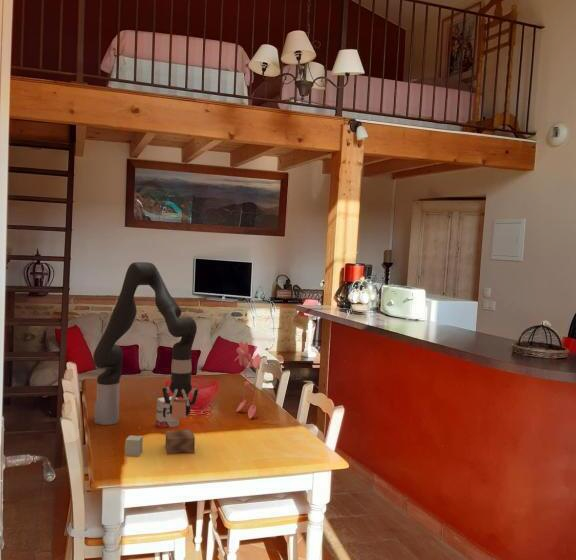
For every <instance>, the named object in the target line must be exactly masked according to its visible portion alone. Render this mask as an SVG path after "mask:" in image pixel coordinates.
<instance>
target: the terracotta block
mask: <svg viewBox="0 0 576 560" xmlns="http://www.w3.org/2000/svg"><path fill="white" fill-rule="evenodd" d="M186 406H187V405H186V402H185V400H184V398H178V399H175V400H174V401H173V402H172V418H179V419H186V418H187V416H186Z"/></svg>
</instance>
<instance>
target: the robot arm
mask: <svg viewBox="0 0 576 560" xmlns="http://www.w3.org/2000/svg"><path fill="white" fill-rule="evenodd" d="M139 286H149V287H150V288H151V289H152V290H153V291H154V294H155V295H154V299H155V300H154V301H155V306H156V308H157V310H158V311H159V313H160V314H161V315H162V317H163V318H164V321H165V324H166V326H167V327H166V328H167V330H168V333H169V334H170V335H171V336H172V337H175V338H180V340H179V341H177V342H175V343H174V344H173V345H172V356H171V357H172V359H171V372H170V373H171V374H170V385H169V386H164V387H163V388H162V394H163V398H164V400H165V403H168V404H169V405H170V413H171V415H172V402H173V401H174V400H175V399H176V398H181V399H184V400H185V402H186V405H187V406H186V417H187V416H189V415H190V414H191V406H193V405H195V403H196V402H197V399H198V396H199V392H200V388H198V387H197V388H195V387H193V386H192V370H193V365H192V347H193V344H194V342H195V338H196V335H197V323H196V321H195V320H194V319H193V318H192V317H181V315H182V310H181V308H180V306H179V304H178V303H177V302H176V301H175V299H174V298H173V297H172V296H171V293H170V292H169V290H168V288H167V286H166V284H165V282H164V279H163V278H162V276H161V274H160V271H159V270H158V268H157V267H156V265H155V264H154V263H151V262H148V261H147V262H142V261H134V262H132V263H130V265H129V266H128V267H127V270H126V272H125V276H124V280H123V283H122V286H121V287H122V288H121V289H120V292H119V295H118V299H117V301H116V303H115V306H114V307H113V310H112V313H111V315H110V318H109V320H108V324H107V326H106V328H105V331H104V333H103V335H102V336H101V338H100V340H99V341H98V343H97V345H96V347H95V350H94V352H93V364H94V366H95V367H97V368H99V369H101V368H103V369H105V368H106V369H105V370H104V371H103V372H102V373H101V374H99V375H97V377H96V400H95V401H94V419H93V420H94V424H98V425H101V426H106V425H107V426H111V425H115V424H118V423H119V418H120V416H119V413H120V412H119V411H120V381H121V380H120V379H121V376H122V372H123V371H122V369H123V358H124V356H123V351H122V348H121V347H120V345H119V344H116V343H117V342H118V341H119V340H120V339H121V338H122V337H123V336H124V335H125V334H126V333H127V332H128V331H129V330H130V329H131V327H132V326H133V324H134V321H135V319H136V317H137V314H138V310H137V305H136V301H135V293H136V291H137V288H138V287H139ZM169 392H171V393H172V395H171V397H172V398H171V400H169V397H170V396H169ZM191 392H192V395H193V396H192V400H191V399H190V395H189V394H190V393H191Z"/></svg>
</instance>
